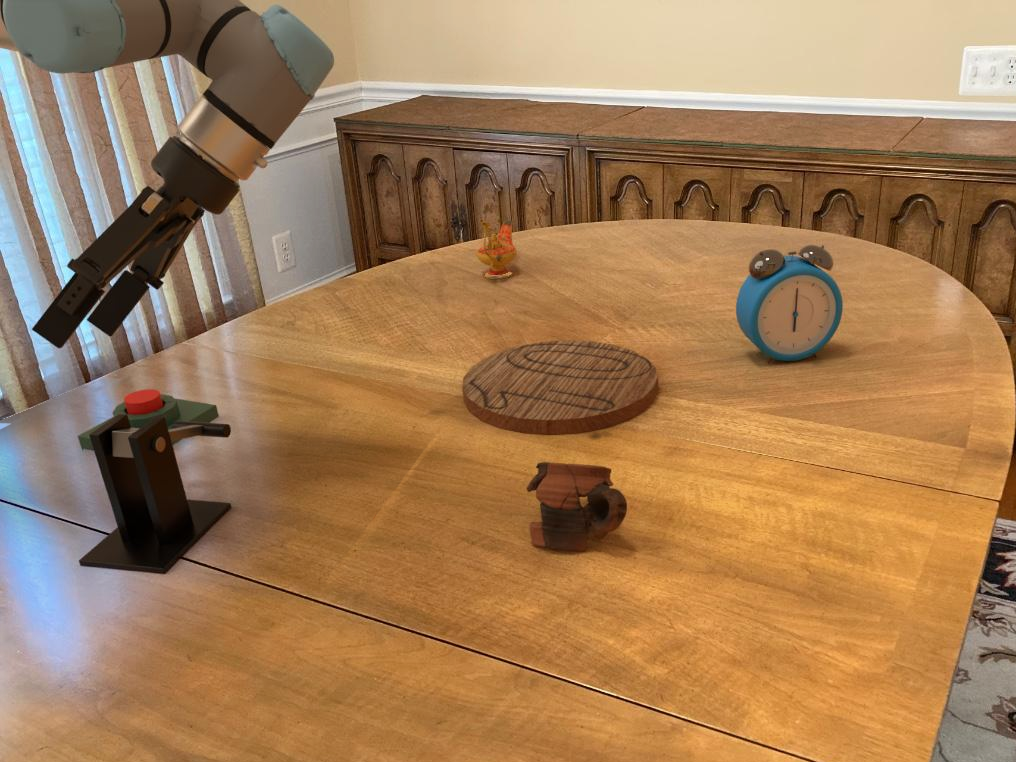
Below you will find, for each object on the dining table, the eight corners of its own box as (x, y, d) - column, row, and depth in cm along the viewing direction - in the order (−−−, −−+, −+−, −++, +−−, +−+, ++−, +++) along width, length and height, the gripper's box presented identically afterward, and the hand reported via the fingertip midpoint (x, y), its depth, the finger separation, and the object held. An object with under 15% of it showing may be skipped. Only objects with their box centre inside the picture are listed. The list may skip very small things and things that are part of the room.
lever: (180, 437, 104) (179, 415, 104) (231, 441, 103) (230, 418, 103) (94, 455, 91) (93, 429, 91) (151, 459, 90) (151, 433, 90)
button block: (82, 452, 115) (72, 422, 113) (157, 410, 125) (149, 381, 123) (148, 465, 111) (139, 434, 110) (220, 420, 121) (213, 391, 119)
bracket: (155, 505, 103) (124, 396, 97) (233, 512, 102) (205, 401, 96) (81, 571, 93) (41, 452, 87) (166, 579, 91) (131, 459, 85)
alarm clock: (748, 369, 130) (753, 259, 123) (732, 352, 135) (736, 246, 128) (839, 357, 133) (849, 249, 125) (820, 341, 138) (829, 236, 131)
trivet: (623, 446, 112) (623, 431, 111) (428, 420, 119) (426, 406, 118) (679, 362, 133) (679, 349, 132) (510, 345, 140) (509, 333, 139)
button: (120, 414, 115) (116, 400, 114) (145, 400, 119) (141, 387, 118) (146, 418, 114) (142, 405, 113) (171, 404, 117) (167, 391, 116)
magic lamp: (530, 256, 178) (526, 195, 173) (507, 288, 163) (502, 222, 158) (494, 256, 179) (489, 195, 174) (468, 287, 164) (461, 222, 159)
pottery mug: (502, 543, 96) (509, 459, 96) (568, 543, 103) (574, 465, 103) (594, 556, 88) (601, 464, 88) (658, 555, 95) (664, 470, 95)
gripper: (212, 174, 82) (59, 371, 83) (266, 193, 106) (147, 346, 107) (134, 113, 80) (-21, 315, 81) (206, 146, 104) (86, 302, 105)
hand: (74, 333), depth 94 cm, fingers open, 13 cm apart
